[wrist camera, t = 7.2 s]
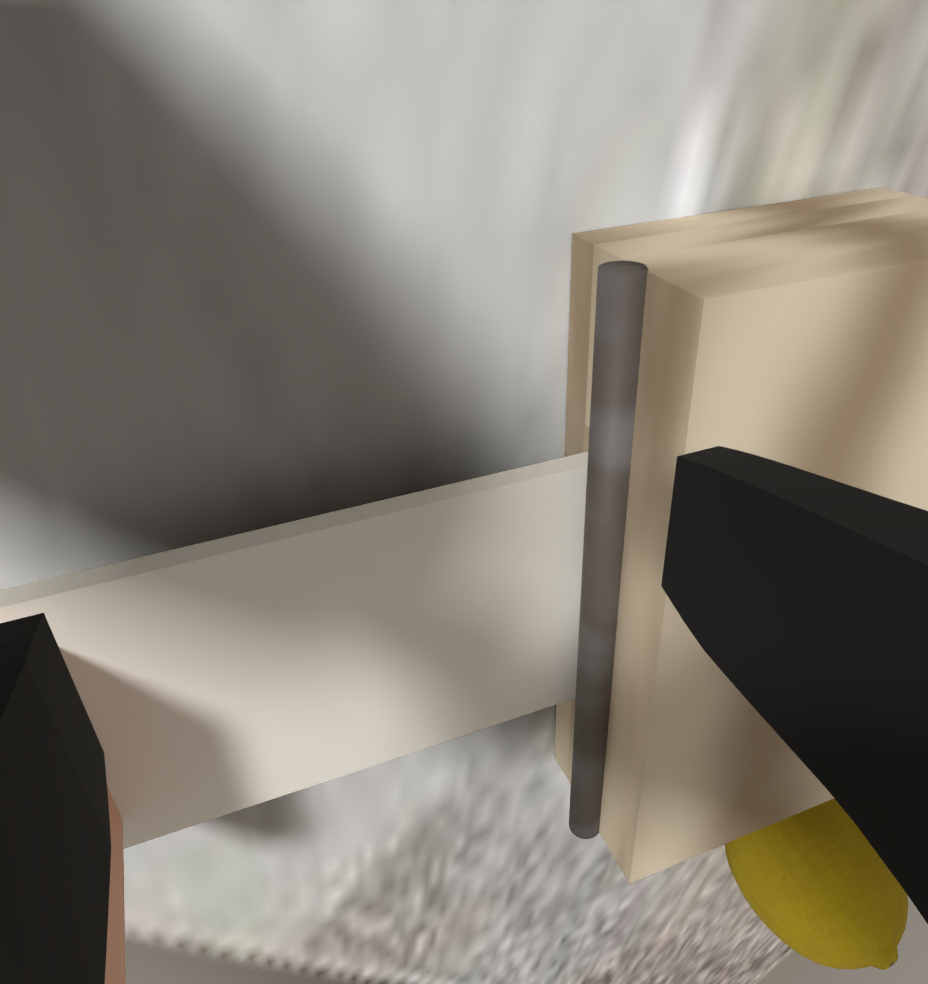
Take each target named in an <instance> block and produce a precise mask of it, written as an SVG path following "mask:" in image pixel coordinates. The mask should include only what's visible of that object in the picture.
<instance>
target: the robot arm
mask: <svg viewBox="0 0 928 984" xmlns="http://www.w3.org/2000/svg"><path fill="white" fill-rule="evenodd" d="M661 587H662V588H663V590H664V591H665V593H666V594H667V596H668V598H669V599H670V601H671V602H672V604H673V605H674V607H675V609H676V610H677V612H678V613H679V615H680V616H681V618H682V620H683V621H684V623H685V624H686V625H687V627H688V628H689V630H690V631H691V633H692V634H693V635H694V637H695V638H696V640H697V641H698V643H699V644H700V646H701V647H702V648H703V650H704V651H705V652H706V653H707V655H708V656H709V657H710V658H711V659H712V660H713V662H714V663H715V664H716V665H717V666H718V667H719V669H720V670H721V671H722V672H723V673H724V674H725V675H726V677H727V678H728V679H729V680H730V681H731V682H732V683H733V685H734V686H735V687H736V688H737V689H738V690H739V691H740V693H741V694H742V695H743V696H744V697H745V698H746V699H747V701H748V702H749V703H750V704H751V705H752V706H753V707H754V708H755V709H756V711H757V712H758V713H759V714H760V715H761V716H762V717H763V718H764V720H765V721H766V722H767V723H768V724H769V725H770V726H771V727H772V728H773V730H774V731H775V732H776V733H777V734H778V735H779V736H780V737H781V739H782V740H783V741H784V742H785V743H786V744H787V745H788V746H789V747H790V749H791V750H792V751H793V752H794V753H795V754H796V755H797V756H798V758H799V759H800V760H801V761H802V762H803V763H804V764H805V765H806V766H807V768H808V769H809V770H810V771H811V772H812V773H813V774H814V775H815V777H816V778H817V779H818V780H819V781H820V782H821V783H822V784H823V785H824V787H825V788H826V789H827V790H828V791H829V792H830V794H831V795H832V796H833V797H834V798H835V800H836V801H837V802H838V803H839V805H840V806H841V807H842V808H843V809H844V811H845V812H846V813H847V814H848V815H849V817H850V818H851V819H852V820H853V821H854V823H855V824H856V825H857V827H858V828H859V829H860V831H861V832H862V833H863V835H864V836H865V838H866V839H867V840H868V842H869V843H870V844H871V846H872V847H873V848H874V850H875V851H876V852H877V854H878V855H879V857H880V858H881V859H882V861H883V862H884V863H885V865H886V866H887V867H888V869H889V870H890V872H891V873H892V874H893V876H894V877H895V878H896V880H897V881H898V882H899V884H900V885H901V887H902V888H903V889H904V891H905V892H906V893H907V895H908V896H909V897H910V899H911V900H912V902H913V903H914V905H915V906H916V908H917V909H918V910H919V912H920V913H921V915H922V916H923V918H924V919H925V921H926V922H927V923H928V511H926V510H923V509H920V508H917V507H914V506H911V505H908V504H905V503H901V502H898V501H895V500H892V499H889V498H886V497H883V496H880V495H877V494H874V493H871V492H868V491H865V490H862V489H859V488H856V487H853V486H850V485H847V484H844V483H841V482H838V481H835V480H832V479H829V478H826V477H823V476H820V475H817V474H814V473H811V472H808V471H805V470H802V469H799V468H796V467H793V466H790V465H786V464H783V463H780V462H777V461H774V460H770V459H767V458H764V457H760V456H757V455H754V454H750V453H746V452H743V451H739V450H735V449H730V448H726V447H722V446H717V447H713V448H709V449H705V450H701V451H696V452H692V453H688V454H684V455H680V456H677V461H676V469H675V477H674V485H673V493H672V502H671V510H670V518H669V526H668V534H667V542H666V551H665V559H664V567H663V575H662V583H661ZM110 868H111V833H110V818H109V803H108V791H107V780H106V768H105V757H104V751H103V749H102V746H101V744H100V742H99V739H98V737H97V735H96V732H95V730H94V728H93V725H92V723H91V721H90V719H89V716H88V714H87V712H86V709H85V707H84V705H83V702H82V700H81V698H80V695H79V693H78V691H77V688H76V686H75V684H74V682H73V679H72V677H71V675H70V672H69V670H68V668H67V665H66V663H65V661H64V658H63V656H62V654H61V651H60V649H59V647H58V645H57V642H56V640H55V638H54V635H53V633H52V631H51V628H50V626H49V624H48V621H47V619H46V617H45V614H44V613H40V614H36V615H32V616H28V617H24V618H20V619H16V620H12V621H8V622H4V623H0V984H105V968H106V950H107V931H108V910H109V889H110Z"/></svg>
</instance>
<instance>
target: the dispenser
mask: <svg viewBox="0 0 928 984" xmlns="http://www.w3.org/2000/svg"><path fill="white" fill-rule="evenodd" d="M717 446H722V447H726V448H730V449H735V450H739V451H743V452H746V453H750V454H754V455H757V456H760V457H764V458H767V459H770V460H774V461H777V462H780V463H783V464H786V465H790V466H793V467H796V468H799V469H802V470H805V471H808V472H811V473H814V474H817V475H820V476H823V477H826V478H829V479H832V480H835V481H838V482H841V483H844V484H847V485H850V486H853V487H856V488H859V489H862V490H865V491H868V492H871V493H874V494H877V495H880V496H883V497H886V498H889V499H892V500H895V501H898V502H901V503H905V504H908V505H911V506H914V507H917V508H920V509H923V510H926V511H928V198H925V197H921V196H916V195H912V194H908V193H904V192H900V191H895V190H891V189H887V188H877V189H871V190H864V191H857V192H850V193H844V194H837V195H830V196H823V197H817V198H810V199H803V200H796V201H790V202H783V203H776V204H769V205H763V206H756V207H749V208H742V209H736V210H729V211H722V212H716V213H709V214H702V215H695V216H689V217H682V218H675V219H668V220H662V221H655V222H648V223H641V224H635V225H628V226H621V227H614V228H608V229H601V230H594V231H587V232H581V233H574V234H572V257H571V287H570V316H569V346H568V376H567V406H566V435H565V457H567V456H571V455H575V454H579V453H584V452H588V466H587V485H586V505H585V524H584V543H583V562H582V582H581V601H580V620H579V639H578V659H577V678H576V697H575V699H572V700H569V701H566V702H563V703H560V704H557V705H556V733H555V758H556V760H557V762H558V763H559V765H560V767H561V768H562V770H563V772H564V773H565V775H566V777H567V779H568V780H569V782H570V784H571V793H570V812H569V827H570V830H571V831H572V833H573V834H574V835H576V836H577V837H579V838H582V839H590V838H593V837H595V836H596V835H597V834H598V833H600V834H601V836H602V838H603V840H604V841H605V843H606V845H607V846H608V848H609V850H610V851H611V853H612V855H613V856H614V858H615V860H616V862H617V863H618V865H619V867H620V868H621V870H622V872H623V873H624V875H625V877H626V879H627V880H628V882H629V883H632V882H634V881H636V880H639V879H641V878H644V877H646V876H649V875H651V874H653V873H656V872H658V871H661V870H663V869H665V868H668V867H670V866H673V865H675V864H677V863H680V862H682V861H685V860H687V859H689V858H692V857H694V856H697V855H699V854H701V853H704V852H706V851H709V850H711V849H713V848H716V847H718V846H721V845H723V844H725V843H728V842H730V841H733V840H735V839H738V838H740V837H742V836H745V835H747V834H750V833H752V832H754V831H757V830H759V829H762V828H764V827H766V826H769V825H771V824H774V823H776V822H778V821H781V820H783V819H786V818H788V817H790V816H793V815H795V814H798V813H800V812H802V811H805V810H807V809H810V808H812V807H815V806H817V805H819V804H822V803H824V802H827V801H829V800H831V799H834V797H833V796H832V795H831V794H830V792H829V791H828V790H827V789H826V788H825V787H824V785H823V784H822V783H821V782H820V781H819V780H818V779H817V778H816V777H815V775H814V774H813V773H812V772H811V771H810V770H809V769H808V768H807V766H806V765H805V764H804V763H803V762H802V761H801V760H800V759H799V758H798V756H797V755H796V754H795V753H794V752H793V751H792V750H791V749H790V747H789V746H788V745H787V744H786V743H785V742H784V741H783V740H782V739H781V737H780V736H779V735H778V734H777V733H776V732H775V731H774V730H773V728H772V727H771V726H770V725H769V724H768V723H767V722H766V721H765V720H764V718H763V717H762V716H761V715H760V714H759V713H758V712H757V711H756V709H755V708H754V707H753V706H752V705H751V704H750V703H749V702H748V701H747V699H746V698H745V697H744V696H743V695H742V694H741V693H740V691H739V690H738V689H737V688H736V687H735V686H734V685H733V683H732V682H731V681H730V680H729V679H728V678H727V677H726V675H725V674H724V673H723V672H722V671H721V670H720V669H719V667H718V666H717V665H716V664H715V663H714V662H713V660H712V659H711V658H710V657H709V656H708V655H707V653H706V652H705V651H704V650H703V648H702V647H701V646H700V644H699V643H698V641H697V640H696V638H695V637H694V635H693V634H692V633H691V631H690V630H689V628H688V627H687V625H686V624H685V623H684V621H683V620H682V618H681V616H680V615H679V613H678V612H677V610H676V609H675V607H674V605H673V604H672V602H671V601H670V599H669V598H668V596H667V594H666V593H665V591H664V590H663V588H662V587H661V583H662V575H663V567H664V559H665V551H666V542H667V534H668V526H669V518H670V510H671V502H672V493H673V485H674V477H675V469H676V461H677V456H680V455H684V454H688V453H692V452H696V451H701V450H705V449H709V448H713V447H717Z"/></svg>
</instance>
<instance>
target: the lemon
mask: <svg viewBox="0 0 928 984" xmlns="http://www.w3.org/2000/svg"><path fill="white" fill-rule="evenodd" d="M725 849H726V856H727V859H728V863H729V866H730V869H731V871H732V874H733V876H734V878H735V880H736V882H737V884H738V886H739V888H740V890H741V892H742V893H743V895H744V897H745V899H746V900H747V902H748V903H749V905H750V906H751V908H752V909H753V910H754V912H755V913H756V914H757V915H758V917H759V918H760V919H761V920H762V921H763V922H764V923H765V925H766V926H767V927H768V928H769V929H770V930H771V931H772V932H773V933H774V934H775V935H776V936H778V937H779V938H780V939H781V940H782V941H783V942H784V943H785V944H787V945H788V946H789V947H790V948H792V949H793V950H794V951H796V952H797V953H799V954H800V955H802V956H804V957H806V958H808V959H810V960H812V961H814V962H816V963H818V964H821V965H824V966H827V967H832V968H837V969H858V968H864V967H868V966H873V967H876V968H879V969H882V970H885V969H887V968H889V967H891V966H892V965H893V964H894V963H895V962H896V961H897V960H898V953H897V945H898V944H899V942H900V940H901V937H902V935H903V933H904V930H905V926H906V922H907V913H908V912H907V911H908V898H907V893H906V892H905V891H904V889H903V888H902V887H901V885H900V884H899V882H898V881H897V880H896V878H895V877H894V876H893V874H892V873H891V872H890V870H889V869H888V867H887V866H886V865H885V863H884V862H883V861H882V859H881V858H880V857H879V855H878V854H877V852H876V851H875V850H874V848H873V847H872V846H871V844H870V843H869V842H868V840H867V839H866V838H865V836H864V835H863V833H862V832H861V831H860V829H859V828H858V827H857V825H856V824H855V823H854V821H853V820H852V819H851V818H850V817H849V815H848V814H847V813H846V812H845V811H844V809H843V808H842V807H841V806H840V805H839V803H838V802H837V801H836V800H835V798H834V799H831V800H829V801H827V802H824V803H822V804H819V805H817V806H815V807H812V808H810V809H807V810H805V811H802V812H800V813H798V814H795V815H793V816H790V817H788V818H786V819H783V820H781V821H778V822H776V823H774V824H771V825H769V826H766V827H764V828H762V829H759V830H757V831H754V832H752V833H750V834H747V835H745V836H742V837H740V838H738V839H735V840H733V841H730V842H728V843H725Z"/></svg>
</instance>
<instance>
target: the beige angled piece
mask: <svg viewBox="0 0 928 984" xmlns="http://www.w3.org/2000/svg"><path fill="white" fill-rule="evenodd" d="M587 466H588V452H584V453H579V454H575V455H571V456H567V457H563V458H558V459H554V460H550V461H546V462H541V463H537V464H533V465H529V466H524V467H520V468H516V469H512V470H507V471H503V472H499V473H495V474H491V475H486V476H482V477H478V478H474V479H469V480H465V481H461V482H457V483H452V484H448V485H444V486H440V487H436V488H431V489H427V490H423V491H419V492H414V493H410V494H406V495H402V496H397V497H393V498H389V499H385V500H380V501H376V502H372V503H368V504H364V505H359V506H355V507H351V508H347V509H342V510H338V511H334V512H330V513H325V514H321V515H317V516H313V517H309V518H304V519H300V520H296V521H292V522H287V523H283V524H279V525H275V526H270V527H266V528H262V529H258V530H253V531H249V532H245V533H241V534H237V535H232V536H228V537H224V538H220V539H215V540H211V541H207V542H203V543H198V544H194V545H190V546H186V547H181V548H177V549H173V550H169V551H165V552H160V553H156V554H152V555H148V556H143V557H139V558H135V559H131V560H126V561H122V562H118V563H114V564H110V565H105V566H101V567H97V568H93V569H88V570H84V571H80V572H76V573H71V574H67V575H63V576H59V577H54V578H50V579H46V580H42V581H38V582H33V583H29V584H25V585H21V586H16V587H12V588H8V589H4V590H0V623H4V622H8V621H12V620H16V619H20V618H24V617H28V616H32V615H36V614H40V613H44V614H45V617H46V619H47V621H48V624H49V626H50V628H51V631H52V633H53V635H54V638H55V640H56V642H57V645H58V647H59V649H60V651H61V654H62V656H63V658H64V661H65V663H66V665H67V668H68V670H69V672H70V675H71V677H72V679H73V682H74V684H75V686H76V688H77V691H78V693H79V695H80V698H81V700H82V702H83V705H84V707H85V709H86V712H87V714H88V716H89V719H90V721H91V723H92V725H93V728H94V730H95V732H96V735H97V737H98V739H99V742H100V744H101V746H102V749H103V751H104V757H105V768H106V780H107V791H108V803H109V818H110V833H111V868H110V889H109V910H108V931H107V950H106V968H105V984H126V983H125V921H124V860H123V849H124V848H127V847H130V846H133V845H136V844H139V843H142V842H145V841H148V840H151V839H154V838H157V837H160V836H163V835H166V834H169V833H172V832H175V831H178V830H181V829H184V828H187V827H190V826H193V825H196V824H199V823H202V822H205V821H208V820H211V819H214V818H217V817H220V816H223V815H226V814H229V813H232V812H235V811H238V810H241V809H244V808H247V807H250V806H253V805H256V804H259V803H262V802H265V801H268V800H271V799H274V798H277V797H280V796H283V795H286V794H289V793H292V792H295V791H298V790H301V789H304V788H307V787H310V786H313V785H316V784H319V783H322V782H325V781H328V780H332V779H335V778H338V777H341V776H344V775H347V774H350V773H353V772H356V771H359V770H362V769H365V768H368V767H371V766H374V765H377V764H380V763H383V762H386V761H389V760H392V759H395V758H398V757H401V756H404V755H407V754H410V753H413V752H416V751H419V750H422V749H425V748H428V747H431V746H434V745H437V744H440V743H443V742H446V741H449V740H452V739H455V738H458V737H461V736H464V735H467V734H470V733H473V732H476V731H479V730H482V729H485V728H488V727H491V726H494V725H497V724H500V723H503V722H506V721H509V720H512V719H515V718H518V717H521V716H524V715H527V714H530V713H533V712H536V711H539V710H542V709H545V708H548V707H551V706H554V705H557V704H560V703H563V702H566V701H569V700H572V699H575V697H576V678H577V659H578V639H579V620H580V601H581V582H582V562H583V543H584V524H585V505H586V485H587Z"/></svg>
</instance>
